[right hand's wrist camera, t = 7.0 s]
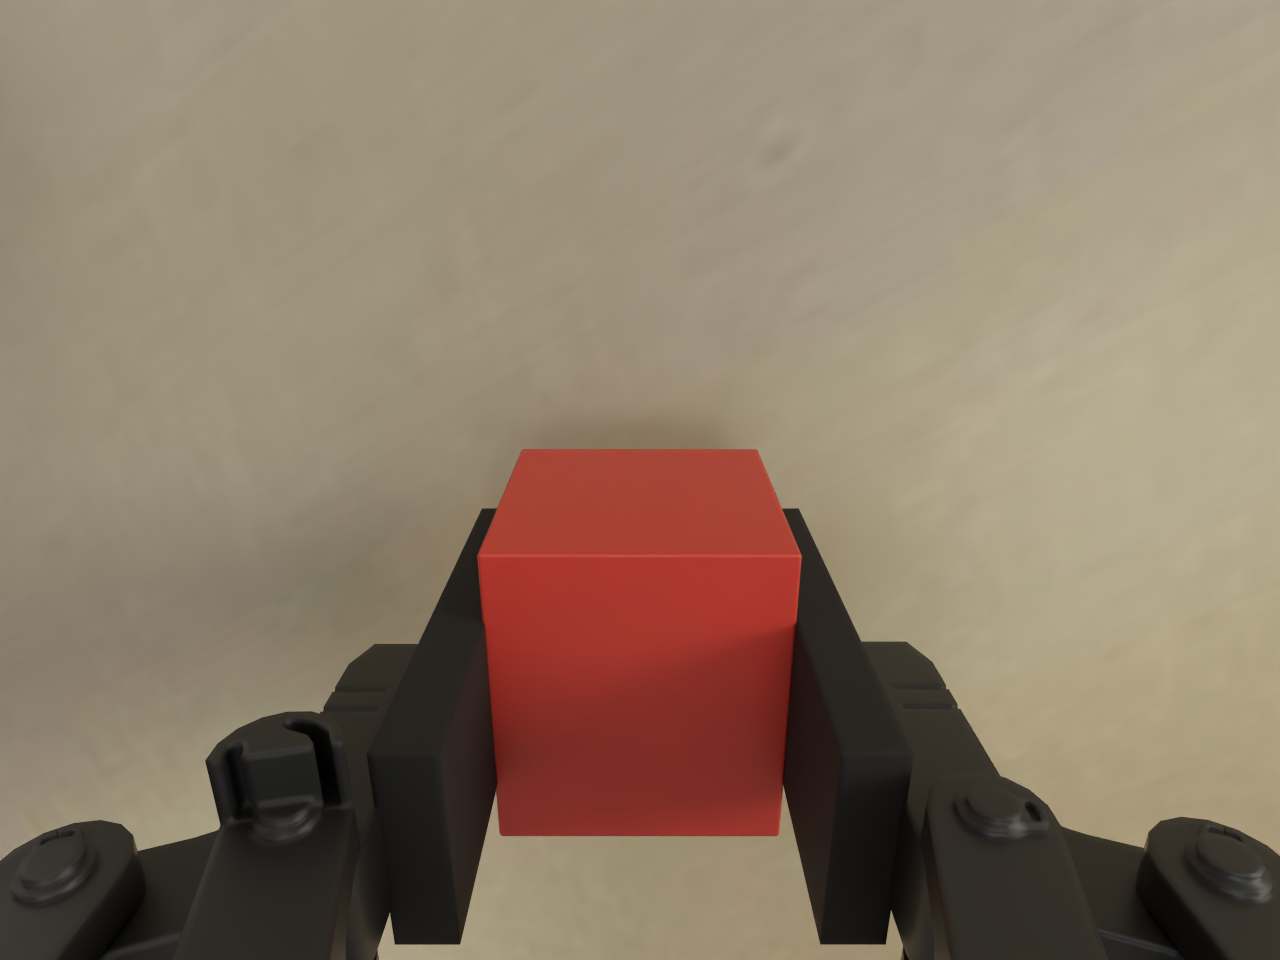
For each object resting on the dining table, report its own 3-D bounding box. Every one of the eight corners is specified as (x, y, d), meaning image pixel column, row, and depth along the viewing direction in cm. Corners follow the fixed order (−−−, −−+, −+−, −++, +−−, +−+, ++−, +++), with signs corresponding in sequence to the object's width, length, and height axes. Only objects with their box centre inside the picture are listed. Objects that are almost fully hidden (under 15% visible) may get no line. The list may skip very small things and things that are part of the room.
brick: (533, 673, 16) (499, 837, 12) (521, 448, 14) (475, 554, 10) (745, 673, 16) (779, 837, 12) (757, 448, 14) (802, 553, 10)
